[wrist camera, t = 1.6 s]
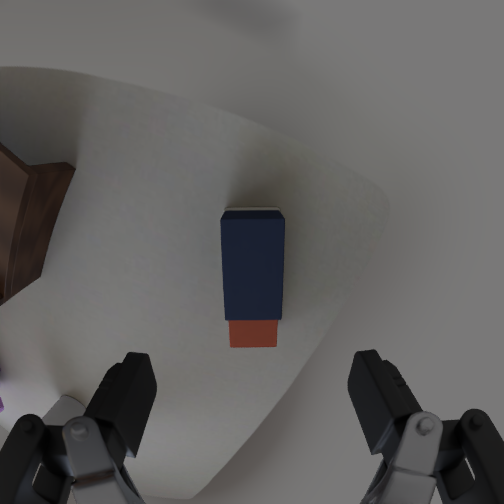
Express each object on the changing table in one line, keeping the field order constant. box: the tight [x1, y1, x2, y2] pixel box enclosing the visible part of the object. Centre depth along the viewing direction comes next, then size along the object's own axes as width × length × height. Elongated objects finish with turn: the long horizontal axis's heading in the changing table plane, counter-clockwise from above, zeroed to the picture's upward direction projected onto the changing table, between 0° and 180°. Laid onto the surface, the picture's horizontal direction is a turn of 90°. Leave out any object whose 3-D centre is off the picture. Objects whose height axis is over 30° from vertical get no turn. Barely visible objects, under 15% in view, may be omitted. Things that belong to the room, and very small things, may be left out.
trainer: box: [220, 207, 285, 347], centre depth 23 cm, size 12×5×5 cm, turn 0°
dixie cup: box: [42, 396, 86, 425], centre depth 28 cm, size 8×8×10 cm
